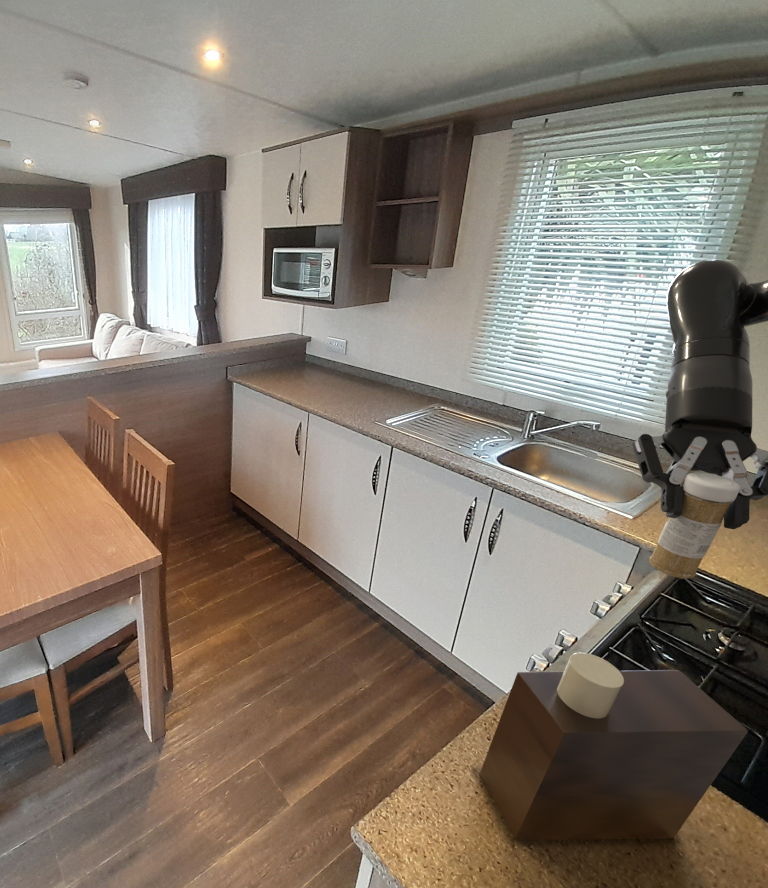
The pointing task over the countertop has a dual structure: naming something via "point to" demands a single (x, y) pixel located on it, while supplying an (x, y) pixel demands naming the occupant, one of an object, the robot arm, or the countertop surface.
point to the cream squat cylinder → (590, 685)
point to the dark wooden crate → (606, 758)
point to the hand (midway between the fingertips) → (703, 521)
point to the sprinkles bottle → (694, 524)
